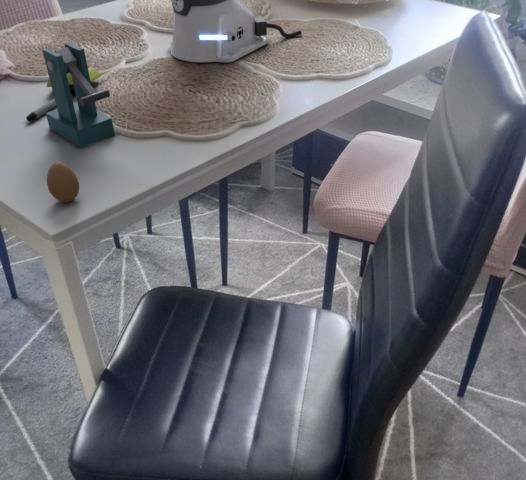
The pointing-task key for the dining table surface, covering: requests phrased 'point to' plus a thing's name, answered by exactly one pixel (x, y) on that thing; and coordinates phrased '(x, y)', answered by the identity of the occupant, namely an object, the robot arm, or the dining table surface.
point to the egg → (62, 182)
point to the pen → (45, 108)
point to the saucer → (92, 74)
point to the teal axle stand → (74, 114)
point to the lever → (81, 78)
